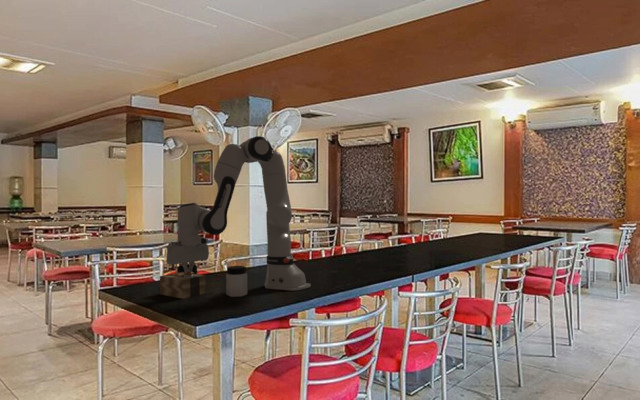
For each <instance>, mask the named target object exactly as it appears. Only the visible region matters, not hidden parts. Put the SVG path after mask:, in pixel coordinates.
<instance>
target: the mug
mask: <svg viewBox="0 0 640 400" xmlns="http://www.w3.org/2000/svg"><path fill="white" fill-rule="evenodd" d="M189 265H190V264H188V265H187V268H189ZM181 272H184V268H183V266H182V264H181V265H179V266H177V267H176V273H181ZM192 272H194V274H198V265H196V264H194V266H193V268H192Z"/></svg>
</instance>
